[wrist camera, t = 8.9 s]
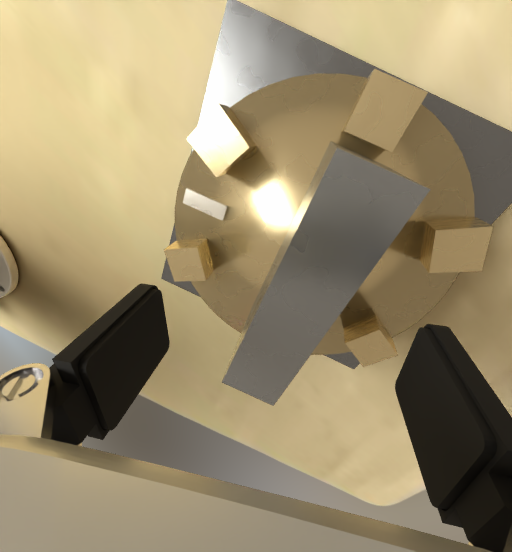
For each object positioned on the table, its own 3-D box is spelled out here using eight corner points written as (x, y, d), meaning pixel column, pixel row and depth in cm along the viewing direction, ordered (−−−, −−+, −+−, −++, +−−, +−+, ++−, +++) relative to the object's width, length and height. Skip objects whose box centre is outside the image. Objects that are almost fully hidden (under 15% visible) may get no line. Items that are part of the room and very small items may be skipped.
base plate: (352, 353, 26) (353, 369, 25) (171, 269, 26) (161, 278, 25) (533, 151, 16) (558, 153, 14) (238, 10, 16) (228, -4, 14)
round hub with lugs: (527, 159, 15) (814, 199, 6) (353, 359, 24) (370, 485, 15) (233, 29, 15) (111, -114, 6) (173, 278, 24) (91, 359, 16)
